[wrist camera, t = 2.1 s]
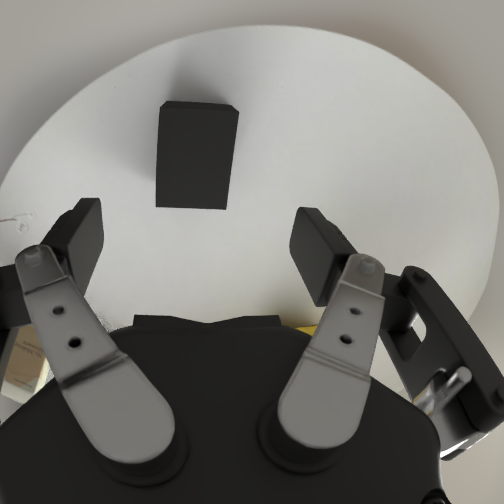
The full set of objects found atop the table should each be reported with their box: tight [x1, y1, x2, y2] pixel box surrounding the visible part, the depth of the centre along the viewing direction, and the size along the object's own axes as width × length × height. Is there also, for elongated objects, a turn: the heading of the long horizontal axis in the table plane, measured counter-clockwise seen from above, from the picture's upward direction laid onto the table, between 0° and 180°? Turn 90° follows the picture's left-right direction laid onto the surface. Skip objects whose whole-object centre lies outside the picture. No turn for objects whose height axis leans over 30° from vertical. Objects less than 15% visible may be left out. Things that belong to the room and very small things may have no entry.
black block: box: [156, 101, 239, 210], centre depth 21 cm, size 5×7×4 cm
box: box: [0, 325, 50, 404], centre depth 25 cm, size 5×4×11 cm
